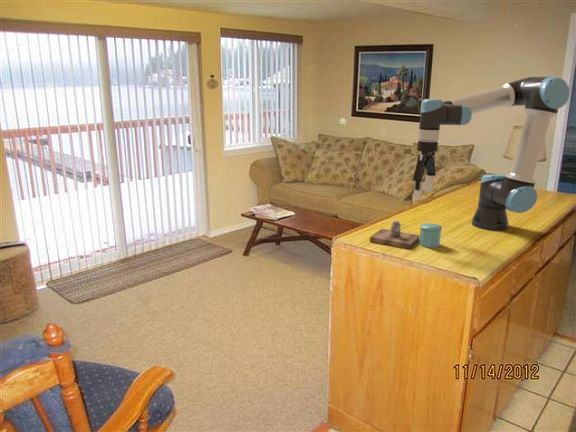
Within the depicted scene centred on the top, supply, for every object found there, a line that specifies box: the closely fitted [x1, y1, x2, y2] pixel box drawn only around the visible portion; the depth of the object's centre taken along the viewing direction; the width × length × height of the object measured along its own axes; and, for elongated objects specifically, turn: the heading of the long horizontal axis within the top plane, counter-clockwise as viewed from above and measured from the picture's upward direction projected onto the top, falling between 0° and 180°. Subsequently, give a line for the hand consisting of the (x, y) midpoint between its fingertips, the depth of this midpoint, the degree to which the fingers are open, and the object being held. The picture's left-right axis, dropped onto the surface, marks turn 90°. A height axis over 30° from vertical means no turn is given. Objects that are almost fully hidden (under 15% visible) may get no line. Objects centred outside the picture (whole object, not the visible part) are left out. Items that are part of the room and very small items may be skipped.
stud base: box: [369, 220, 420, 250], centre depth 192 cm, size 16×13×8 cm
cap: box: [418, 223, 442, 249], centre depth 189 cm, size 8×8×8 cm
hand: (422, 194), depth 191 cm, fingers open, 13 cm apart
